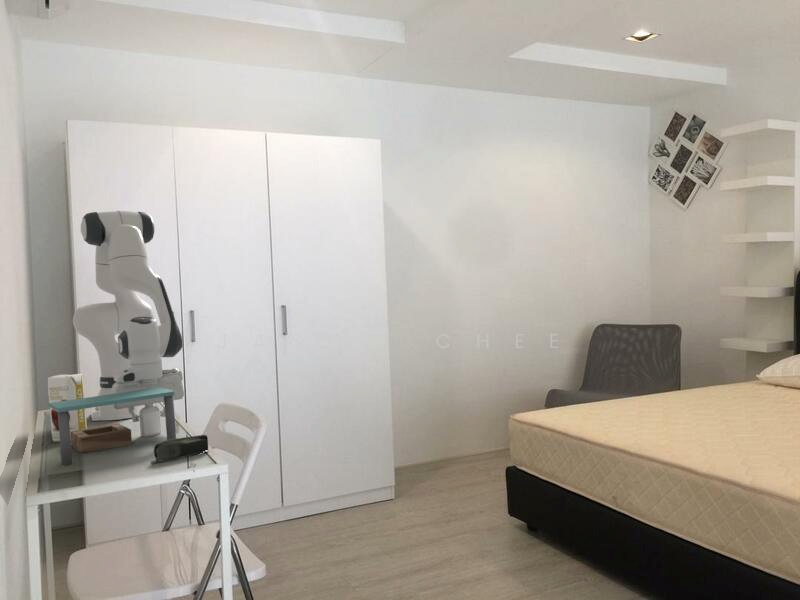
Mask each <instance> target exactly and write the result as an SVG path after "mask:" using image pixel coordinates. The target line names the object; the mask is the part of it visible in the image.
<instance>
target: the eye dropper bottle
mask: <svg viewBox="0 0 800 600" xmlns="http://www.w3.org/2000/svg"><path fill="white" fill-rule="evenodd" d="M160 411H161V410H160V408H159V407H158V406H155V405H154V404H147V405H145V407H144V408H142V409H141V410H140V411H139V431H140V436H141V437H145V438H147V437H152V436H157V435H160V434H161V433H162V423H161V416H160Z"/></svg>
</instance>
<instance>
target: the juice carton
mask: <svg viewBox="0 0 800 600" xmlns="http://www.w3.org/2000/svg"><path fill="white" fill-rule="evenodd" d="M84 385H85V383H84V377H83V373H74V374H56V375H52V376H49V377H47V390H48V391H47V392H48V393H47V394H48V404H49V403H53V402H60V401H67V400H74V399H81V398H86V397H85V386H84ZM86 409H87V408H86ZM86 409H79V410H73V411H68V414H69V427H70V431H75V430H81V429H87V428H88V425H87V412H86V411H87V410H86ZM49 417H50V430H51V437H52V441H53V442H54V443H55V442H56V443H58V442H59V443H60V436H59V423H58V412H57V411H55V410H53V409H52V408H50V407H49ZM70 440H71V432H70Z"/></svg>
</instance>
